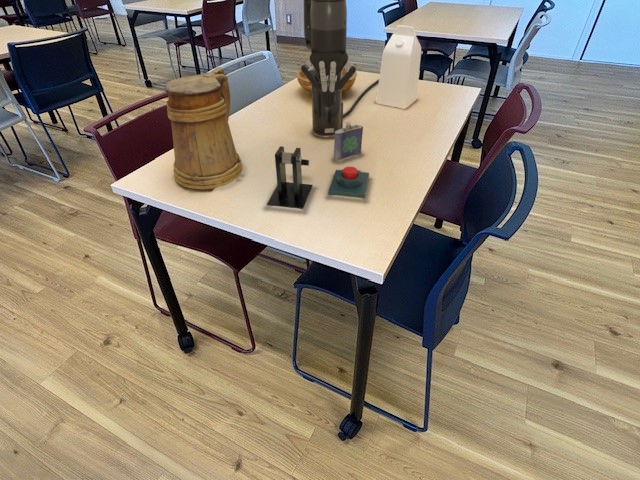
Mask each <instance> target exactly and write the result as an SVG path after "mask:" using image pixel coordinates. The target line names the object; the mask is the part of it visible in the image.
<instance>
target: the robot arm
mask: <svg viewBox="0 0 640 480" xmlns="http://www.w3.org/2000/svg"><path fill="white" fill-rule="evenodd" d="M347 9H348V6H347V0H303V33H304V34H303V35H304V42H305V46H306V49H307V50H308V51H309V52H311V53H310V55H309V59H308V60H307V61H306V62H304V63H303V64H302V65H301V67H300V70H302V72H303V73H304V74H305V75H306V77H307V78H308V79H309V81H310V82H311V83H312V93H311V118H312V119H311V121H312V129H311V131H312V135H313V136H315V137H317V138H321V139H333V138H335V135H334V134H335V131H337V130H340V129H343V128H344V126H343V125H344V118H345V117H347V116H348V115H349V114H350V113H351V112H352V111H353V110H354V109H355V107H356V106H357V105H358V103H359V101H360V100H361V99H362V98H363V96H364V95H365V94H366V93H367V92H368V91H369V90H370V89H371V88H373V87H374V86H375V85H377V84H379V79H377V80H376V81H375V82H372V84H370V85H369V86H368V87H367V88H366V89H365V90H363V92H361V94H360V95H359V96H358V97H357V98H356V100H355V101H354V103H353V104H352V105H351V107H350V108H349V109H348V111H346V112H345V113H344V102H342V93H343V92H342V88H343V87H344V85H345V84H346V83H347V82H348V80H349V79H350V78H351V77H352V75H353V74H354V73H355V72H356V73H357V69H358V66H357V64H356V63H352V62H351V61H350V59H349V55H348V52H347V31H348V29H347V28H348V27H347V23H348V10H347ZM313 66H314V68H313ZM343 67H346V69H345V72H346V74H345V75H344V76H343V77H342V72H343Z"/></svg>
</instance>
